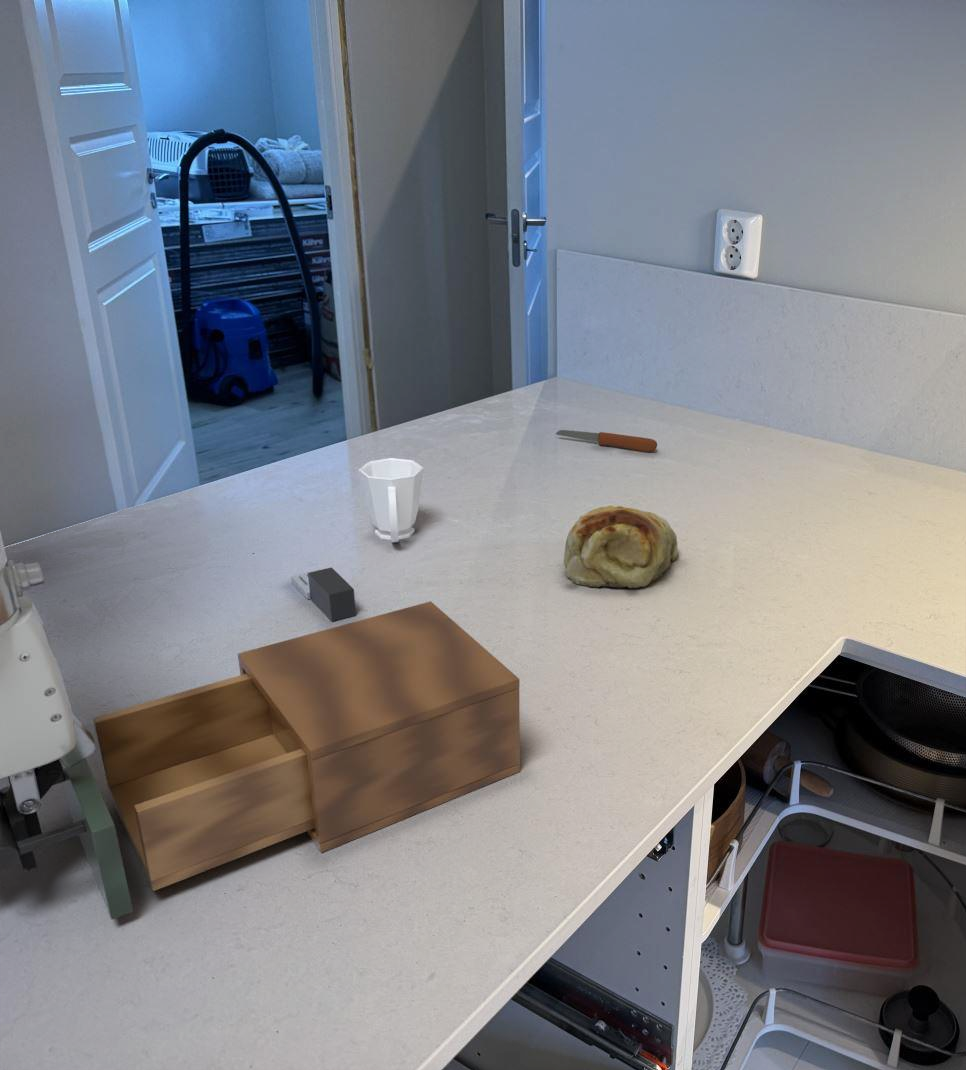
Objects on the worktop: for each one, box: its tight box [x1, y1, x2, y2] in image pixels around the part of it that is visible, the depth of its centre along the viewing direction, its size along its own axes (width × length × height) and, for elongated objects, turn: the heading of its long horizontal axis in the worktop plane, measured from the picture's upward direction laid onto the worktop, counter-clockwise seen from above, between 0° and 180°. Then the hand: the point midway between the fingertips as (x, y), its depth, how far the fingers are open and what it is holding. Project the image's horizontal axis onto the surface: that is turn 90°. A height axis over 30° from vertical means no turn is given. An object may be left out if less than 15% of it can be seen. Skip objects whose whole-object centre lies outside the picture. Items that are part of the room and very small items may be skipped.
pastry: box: [563, 505, 679, 589], centre depth 110 cm, size 14×12×8 cm
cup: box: [358, 457, 424, 543], centre depth 113 cm, size 7×10×8 cm
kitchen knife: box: [555, 429, 658, 453], centre depth 149 cm, size 16×1×2 cm, turn 80°
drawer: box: [0, 674, 315, 920], centre depth 66 cm, size 20×13×7 cm
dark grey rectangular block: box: [290, 567, 357, 623], centre depth 100 cm, size 10×3×3 cm, turn 41°
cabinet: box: [237, 600, 521, 853], centre depth 76 cm, size 16×15×9 cm
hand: (4, 863), depth 61 cm, fingers closed on drawer
